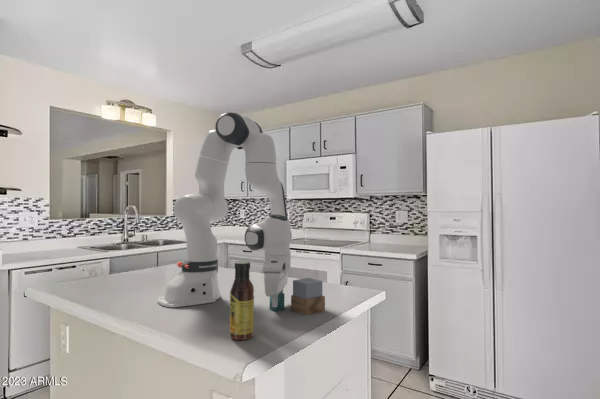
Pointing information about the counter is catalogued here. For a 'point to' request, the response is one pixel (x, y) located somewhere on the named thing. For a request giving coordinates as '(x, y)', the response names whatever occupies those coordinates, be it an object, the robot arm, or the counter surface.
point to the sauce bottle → (242, 303)
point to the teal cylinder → (280, 303)
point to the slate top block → (307, 288)
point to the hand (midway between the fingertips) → (277, 303)
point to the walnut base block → (308, 305)
